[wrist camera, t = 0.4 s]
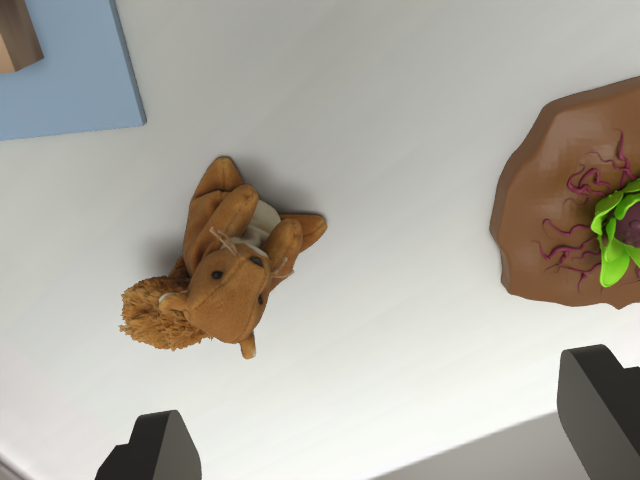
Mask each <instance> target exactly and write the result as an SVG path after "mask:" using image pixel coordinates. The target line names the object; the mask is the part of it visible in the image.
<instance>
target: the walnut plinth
mask: <svg viewBox="0 0 640 480" xmlns="http://www.w3.org/2000/svg"><path fill="white" fill-rule="evenodd" d="M43 58H44V55H43V52H42V49H41V47H40V44H39V41H38V38H37V35H36V32H35V29H34V27H33V24H32V21H31V18H30V15H29V12H28V9H27V7H26V4H25V1H24V0H0V74H3V73H12V72H17V71H19V70H21V69H23V68H25V67H27V66H29V65H31V64H33V63H35V62H37V61H39V60H41V59H43Z"/></svg>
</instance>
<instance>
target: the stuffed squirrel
mask: <svg viewBox="0 0 640 480" xmlns="http://www.w3.org/2000/svg"><path fill="white" fill-rule="evenodd" d="M326 229H327V224H326V222H325V220H324V219H323V218H322V217H321V216H318V215H298V214H286V215H278V213H277V212H276V210H275V209H274V208H273V207H271V206H270V205H268V204H267V203H265V202H263V201H261V200H259V195H258V192H257V191H256V190H255V189H254V188H253V187H252V186H251V185H249V184H245V185H244V184H243V182H242V179H241V177H240V175H239V173H238V171H237V169H236V168H235V166H234V164H233V163H232V161H231V160H230V158H227V157H219V158H218V159H216V160H215V161H214V162H213V163H212V164H211V166H210V167H209V168H208V170H207V171H206V173H205V175H204V176H203V178H202V180H201V182H200V184H199V186H198V187H197V190H196V191H195V194H194V196H193V198H192V200H191V202H190V206H189V215H188V221H187V226H186V231H185V236H184V242H183V256H182V257H180V258H179V260H178V261H177V263H176V266H175V267H174V269H173V270H172V271H171V273H170V274H169V275H168V276H169V277H168V278H167V276H164V277H163V276H161V277H157V278H156V277H152V278H150V279H145V280H142V281H139V282H138V284H137V283H136V284H135V285H134V286H133V287H131V288H128V289H127V290H126V291H124V292H125V294H123V295H121V296H122V297H123V299H122V301H123V302H124V304H123V309H122V311H123V312H122V315H121V316H124V317H123V320H125V321H126V322H125V323H126V324H127V325H125V326H122V325H121V326H119V327H120V332H122V331H125V332H126V334H125V335H131V337H132V339H133V340H137V341H138V342H144V343H145V344H149V345H152V346H154V347H155V348H158V349H162V348H163V349H169V348H171V349H172V351H174V350H175V349H176V348H179V349H183V347H186V348H187V346H188V345H190V346H191V345H193V344H195V343H197V342H199V344H200V342H201V339H202V338H206V337H208V338H209V339H210V337H211V341H212V339H213V337H215V338H217V339H219V340H220V341H222V342H224V343H231V344H236V343H240V346H241V352H242V355H243V357H244V358H245V359H250V358H253V357H255V356H256V348H255V338H254V331H253V329H254V328H255V327H256V326H257V324H258V323H259V321H260V319H261V317H262V315H263V312H264V310H265V307H266V304H267V300H268V296H269V293H270V292H271V291H272V290H273V289H274V288H275V287H276V286H277V285H278V284H279V283H280V282H281V281H283V280H284V279H286V278H287V277H288V276H290V275H291V274H293V273H294V270H292V269H293V265H294V262H295V260H296V258H297V256H298V254H299V253H301V252H302V251H304V250H306V249H307V248H308V247H310V246H311V245H312V244H314V243H315V242H316V241H317V240H318V239H319V238H320V237H321V236H322V235H323V233H324V232H325V231H326Z"/></svg>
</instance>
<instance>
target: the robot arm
mask: <svg viewBox="0 0 640 480" xmlns="http://www.w3.org/2000/svg"><path fill="white" fill-rule="evenodd" d="M557 409H558V414H559V418H560V421H561V424H562V427H563V429H564V431H565V433H566V435H567V437H568V438H569V440H570V442H571V444H572V446H573V448H574V450H575V451H576V453H577V455H578V457H579V459H580V461H581V463H582V465H583V466H584V468H585V470H586V472H587V474H588V476H589V477H590V479H591V480H640V367H631V368H625V369H624V368H623V367H622V365H621V364H620V363H619V361H618V360H617V359H616V357H615V356H614V355H613V353H612V352H611V351H610V350H609V348H607V347H606V346H605V345H602V344H599V345H593V346H586V347H580V348H574V349H567V350H563V352H562V354H561V359H560V370H559V381H558V392H557ZM201 479H202V472H201V462H200V457H199V454H198V452H197V449H196V447H195V445H194V443H193V441H192V439H191V436H190V434H189V432H188V430H187V428H186V426H185V423H184V421H183V419H182V417H181V415H180V413H179V412H178V411H177V410H170V411H163V412H157V413H151V414H144V415H140V416H139V417H138V418H137V420H136V422H135V425H134V428H133V431H132V434H131V437H130V440H129V443H128V444H122V445H116V446H115V448H114V449H113V450H112V452H111V453H110V454H109V456H108V457H107V458H106V460H105V461H104V462H103V464H102V465H101V466H100V468H99V469H98V472H97V474H96V477H95V480H201Z"/></svg>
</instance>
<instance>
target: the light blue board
mask: <svg viewBox="0 0 640 480" xmlns="http://www.w3.org/2000/svg"><path fill="white" fill-rule="evenodd" d="M24 1H25V4H26V7H27V9H28V12H29V15H30V18H31V21H32V24H33V27H34V29H35V32H36V35H37V38H38V41H39V44H40V47H41V49H42V52H43V55H44V58H43V59H41V60H39V61H37V62H35V63H33V64H31V65H29V66H27V67H25V68H23V69H21V70H19V71H17V72H12V73H3V74H0V141H2V140H12V139H21V138H31V137H40V136H50V135H59V134H69V133H78V132H88V131H97V130H107V129H116V128H126V127H135V126H143V125H144V124H145V123H146V117H145V113H144V110H143V106H142V102H141V98H140V95H139V91H138V87H137V84H136V80H135V76H134V73H133V69H132V65H131V61H130V58H129V54H128V50H127V47H126V43H125V39H124V35H123V32H122V28H121V24H120V21H119V17H118V13H117V10H116V6H115V2H114V0H24Z"/></svg>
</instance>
